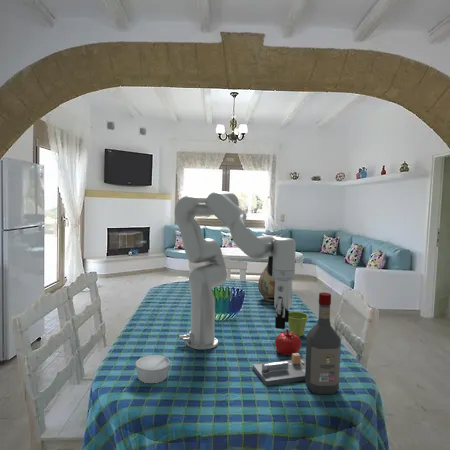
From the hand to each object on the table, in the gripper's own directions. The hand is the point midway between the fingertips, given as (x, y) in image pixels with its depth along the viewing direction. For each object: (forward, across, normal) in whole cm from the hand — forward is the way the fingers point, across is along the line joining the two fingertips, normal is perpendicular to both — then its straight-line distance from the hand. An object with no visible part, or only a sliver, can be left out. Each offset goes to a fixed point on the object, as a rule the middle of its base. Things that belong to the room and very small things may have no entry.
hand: (282, 324), depth 129 cm
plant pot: (+16, +34, -1) cm, 38 cm away
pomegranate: (+16, +14, 0) cm, 22 cm away
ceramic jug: (+16, +84, +20) cm, 88 cm away
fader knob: (+14, +3, -5) cm, 15 cm away
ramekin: (+16, -21, +38) cm, 47 cm away
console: (+16, -3, -2) cm, 16 cm away
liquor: (+16, -8, -14) cm, 23 cm away
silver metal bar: (+14, -6, +1) cm, 15 cm away
